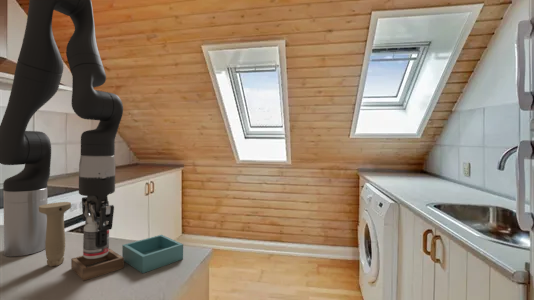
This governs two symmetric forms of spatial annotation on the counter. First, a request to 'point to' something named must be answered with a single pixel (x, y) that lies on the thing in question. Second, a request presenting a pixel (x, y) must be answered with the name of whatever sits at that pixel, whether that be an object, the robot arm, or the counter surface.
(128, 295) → the counter surface
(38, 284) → the counter surface
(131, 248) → the tray
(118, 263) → the brown open box
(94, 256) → the pill bottle
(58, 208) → the handle
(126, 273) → the counter surface
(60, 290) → the counter surface
